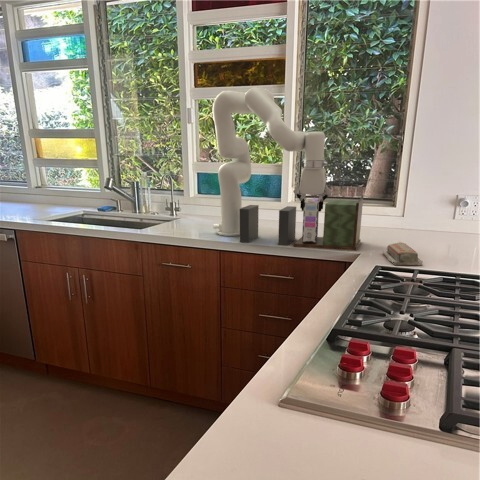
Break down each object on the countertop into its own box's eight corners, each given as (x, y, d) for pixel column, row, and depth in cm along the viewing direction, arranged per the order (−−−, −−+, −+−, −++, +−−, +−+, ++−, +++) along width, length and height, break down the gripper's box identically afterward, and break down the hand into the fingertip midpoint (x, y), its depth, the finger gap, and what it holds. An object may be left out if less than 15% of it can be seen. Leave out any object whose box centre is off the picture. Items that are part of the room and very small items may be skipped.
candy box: (316, 243, 188) (318, 201, 182) (301, 242, 189) (303, 201, 183) (317, 236, 200) (320, 197, 195) (304, 236, 202) (305, 197, 196)
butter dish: (424, 252, 157) (394, 251, 157) (422, 266, 158) (393, 265, 159) (410, 241, 173) (383, 241, 174) (408, 254, 175) (381, 253, 176)
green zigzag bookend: (293, 246, 189) (295, 200, 183) (302, 238, 204) (304, 196, 198) (356, 250, 182) (360, 203, 175) (360, 242, 197) (364, 198, 190)
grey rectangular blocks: (239, 242, 198) (239, 208, 193) (249, 236, 210) (249, 204, 205) (287, 245, 192) (288, 210, 187) (295, 238, 204) (296, 206, 199)
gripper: (337, 164, 185) (333, 210, 191) (294, 164, 190) (292, 208, 196) (334, 165, 178) (331, 213, 185) (290, 165, 183) (288, 211, 190)
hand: (311, 210), depth 190 cm, fingers closed on candy box, 6 cm apart
